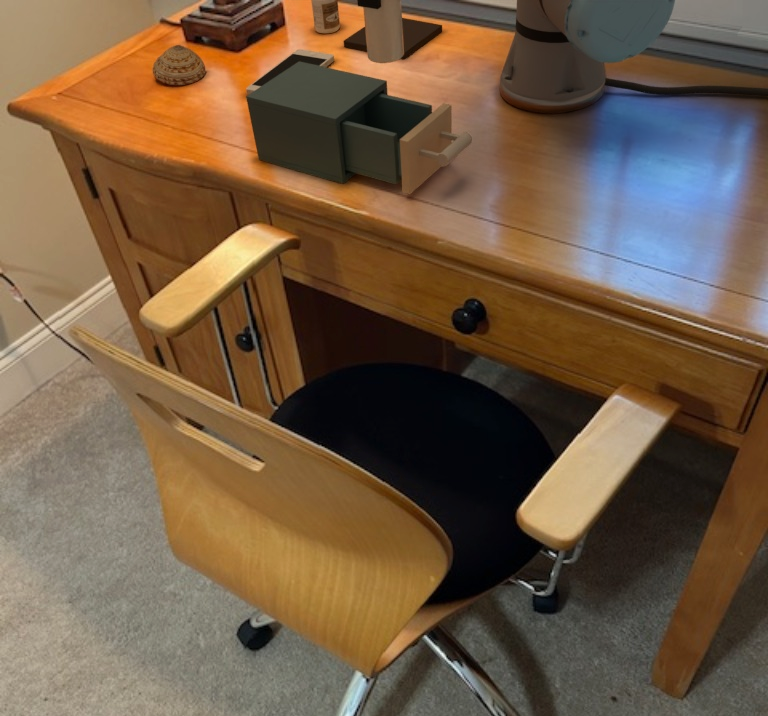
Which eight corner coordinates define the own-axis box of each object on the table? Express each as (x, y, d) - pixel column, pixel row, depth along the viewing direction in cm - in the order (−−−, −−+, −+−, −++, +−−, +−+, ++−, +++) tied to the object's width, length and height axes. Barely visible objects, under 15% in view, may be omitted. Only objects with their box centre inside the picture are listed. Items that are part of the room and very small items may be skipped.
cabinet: (391, 145, 110) (386, 80, 104) (343, 184, 105) (335, 119, 98) (308, 123, 116) (299, 61, 109) (258, 159, 110) (245, 96, 104)
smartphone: (335, 60, 129) (334, 53, 128) (284, 101, 121) (282, 95, 120) (298, 54, 131) (297, 48, 130) (245, 94, 123) (244, 88, 122)
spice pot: (410, 51, 96) (406, -40, 88) (391, 65, 93) (385, -26, 86) (380, 45, 97) (373, -44, 90) (360, 59, 95) (352, -31, 88)
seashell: (178, 44, 132) (200, 34, 126) (194, 80, 135) (216, 72, 129) (137, 61, 128) (158, 52, 123) (155, 98, 131) (175, 90, 126)
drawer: (480, 164, 104) (481, 111, 98) (439, 202, 99) (438, 149, 93) (368, 135, 111) (364, 84, 105) (325, 170, 106) (318, 118, 100)
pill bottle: (330, 36, 135) (324, -16, 129) (310, 31, 137) (303, -20, 131) (345, 26, 137) (340, -25, 131) (324, 22, 139) (318, -29, 133)
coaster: (442, 31, 133) (442, 24, 132) (404, 59, 127) (403, 52, 126) (383, 20, 138) (383, 14, 137) (343, 47, 132) (343, 40, 131)
